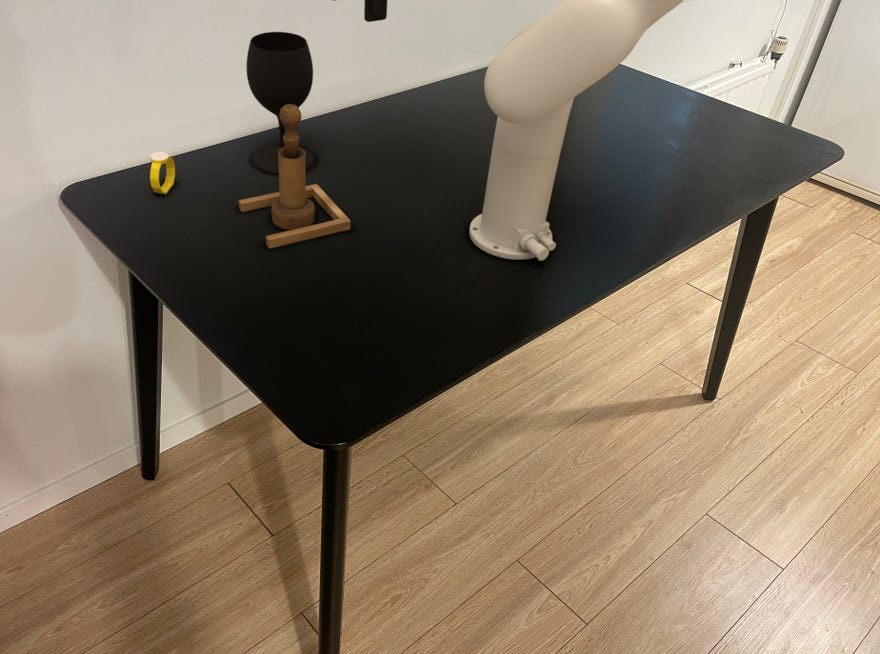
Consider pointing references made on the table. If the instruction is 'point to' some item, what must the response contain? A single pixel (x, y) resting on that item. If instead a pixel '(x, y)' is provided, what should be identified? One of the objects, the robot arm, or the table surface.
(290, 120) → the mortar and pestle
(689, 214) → the table surface
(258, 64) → the wine glass
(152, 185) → the watch
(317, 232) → the frame
